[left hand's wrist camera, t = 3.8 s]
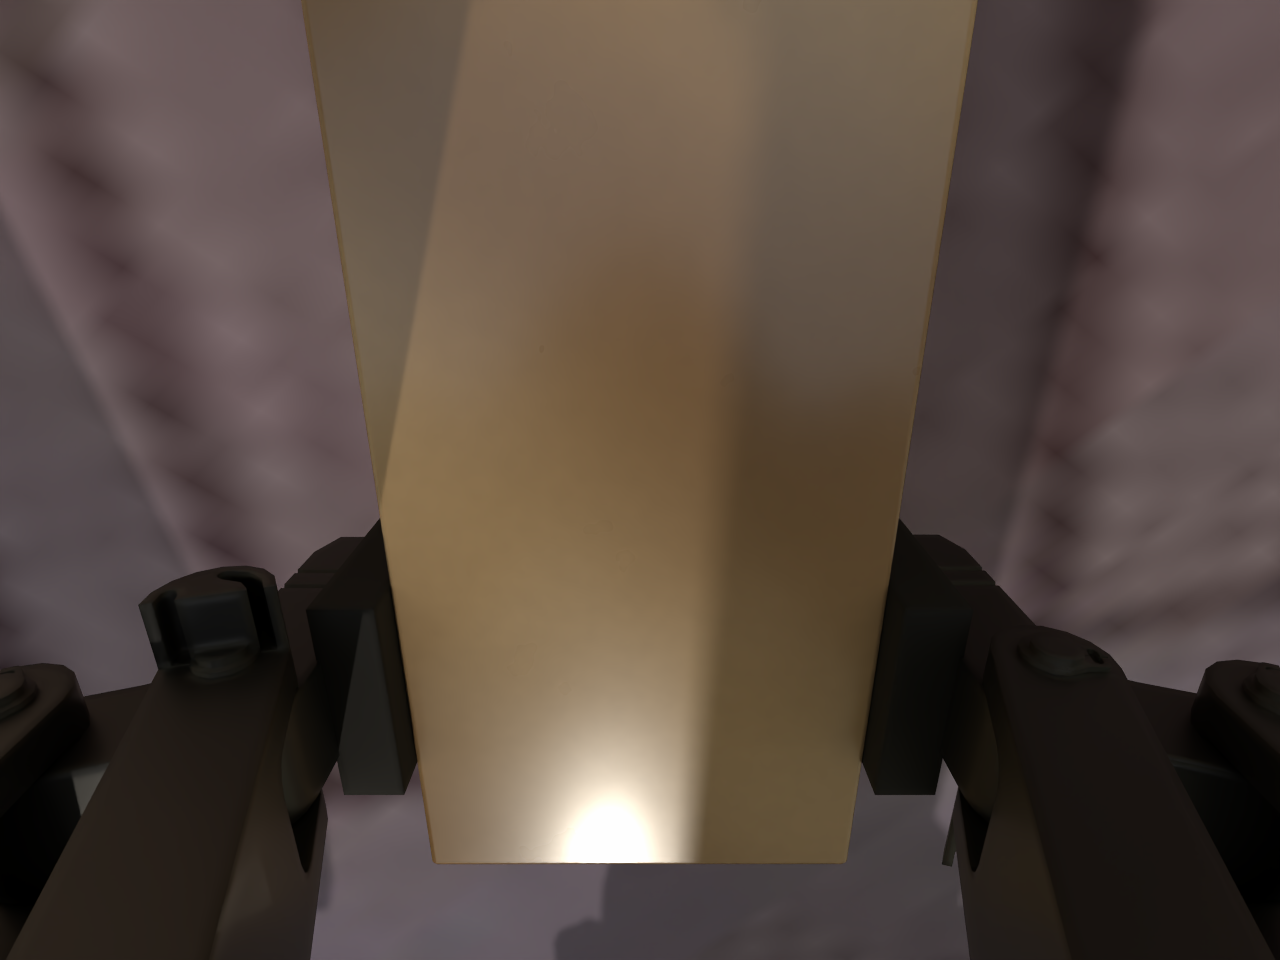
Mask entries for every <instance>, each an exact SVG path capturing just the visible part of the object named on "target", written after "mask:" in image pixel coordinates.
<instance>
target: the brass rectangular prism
mask: <svg viewBox="0 0 1280 960" xmlns="http://www.w3.org/2000/svg"><path fill="white" fill-rule="evenodd" d="M977 2H978V0H301V3H302V9H303V16H304V23H305V29H306V36H307V42H308V49H309V55H310V62H311V68H312V75H313V81H314V88H315V94H316V101H317V108H318V114H319V121H320V127H321V134H322V140H323V147H324V153H325V160H326V166H327V173H328V180H329V186H330V193H331V199H332V206H333V212H334V219H335V225H336V232H337V238H338V245H339V252H340V258H341V265H342V271H343V278H344V284H345V291H346V297H347V304H348V310H349V317H350V323H351V330H352V337H353V343H354V350H355V356H356V363H357V369H358V376H359V382H360V389H361V395H362V402H363V409H364V415H365V422H366V428H367V435H368V441H369V448H370V454H371V461H372V467H373V474H374V480H375V487H376V494H377V500H378V507H379V513H380V520H381V526H382V533H383V539H384V546H385V552H386V559H387V566H388V572H389V579H390V585H391V592H392V598H393V605H394V611H395V618H396V624H397V631H398V637H399V644H400V651H401V657H402V664H403V670H404V677H405V683H406V690H407V696H408V703H409V709H410V716H411V722H412V729H413V736H414V742H415V749H416V755H417V762H418V768H419V775H420V781H421V788H422V795H423V801H424V808H425V814H426V821H427V827H428V834H429V840H430V847H431V853H432V860H433V862H434V863H436V864H843V863H845V862H846V861H847V854H848V848H849V841H850V835H851V828H852V822H853V815H854V809H855V802H856V795H857V789H858V782H859V776H860V769H861V763H862V756H863V750H864V743H865V736H866V730H867V723H868V717H869V710H870V704H871V697H872V691H873V684H874V677H875V671H876V664H877V658H878V651H879V645H880V638H881V632H882V625H883V618H884V612H885V605H886V599H887V592H888V586H889V579H890V573H891V566H892V560H893V553H894V546H895V540H896V533H897V527H898V520H899V514H900V507H901V501H902V494H903V487H904V481H905V474H906V468H907V461H908V455H909V448H910V442H911V435H912V428H913V422H914V415H915V409H916V402H917V396H918V389H919V383H920V376H921V369H922V363H923V356H924V350H925V343H926V337H927V330H928V324H929V317H930V310H931V304H932V297H933V291H934V284H935V278H936V271H937V265H938V258H939V251H940V245H941V238H942V232H943V225H944V219H945V212H946V206H947V199H948V192H949V186H950V179H951V173H952V166H953V160H954V153H955V147H956V140H957V133H958V127H959V120H960V114H961V107H962V101H963V94H964V88H965V81H966V74H967V68H968V61H969V55H970V48H971V42H972V35H973V29H974V22H975V16H976V9H977Z"/></svg>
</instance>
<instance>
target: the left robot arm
mask: <svg viewBox="0 0 1280 960" xmlns="http://www.w3.org/2000/svg"><path fill="white" fill-rule="evenodd" d="M138 606H139V609H140V612H141V615H142V618H143V622H144V625H145V628H146V631H147V634H148V638H149V641H150V644H151V647H152V650H153V654H154V657H155V660H156V663H157V666H158V671H157V673H156V675H155V677H154V679H153V681H152V683H150V684H146V685H142V686H137V687H132V688H126V689H121V690H116V691H111V692H105V693H100V694H95V695H90V696H84V697H83V695H82V692H81V689H80V686H79V684H78V681H77V678H76V676H75V673H74V672H73V671H71V670H70V669H68V668H67V667H65V666H64V665H57V664H46V663H40V664H33V665H25V666H13V667H9V668H5V669H1V671H0V960H310V957H311V949H312V941H313V933H314V925H315V917H316V909H317V901H318V893H319V885H320V877H321V869H322V861H323V853H324V846H325V838H326V830H327V822H328V817H327V810H326V804H325V800H324V795H323V791H322V787H323V785H324V784H325V782H326V780H327V778H328V776H329V774H330V772H331V771H332V769H333V767H334V765H335V763H336V761H337V763H338V767H339V772H340V777H341V782H342V787H343V791H344V795H404V794H405V791H406V789H407V786H408V784H409V781H410V779H411V776H412V774H413V771H414V769H415V766H416V764H417V755H416V749H415V742H414V736H413V729H412V722H411V716H410V709H409V703H408V696H407V690H406V683H405V677H404V670H403V664H402V657H401V651H400V644H399V637H398V631H397V624H396V618H395V611H394V605H393V598H392V592H391V585H390V579H389V572H388V566H387V559H386V552H385V546H384V539H383V533H382V526H381V520H380V519H379V520H378V521H377V522H376V524H375V525H374V526H373V527H372V529H371V530H370V531H369V532H368V534H367V535H366V536H365V537H340V538H338V539H337V540H335V541H333V542H331V543H330V544H328V545H326V546H324V547H323V548H321V549H319V550H317V551H315V552H314V553H313V554H312V555H311V556H310V557H309V558H308V559H307V561H306V562H305V563H304V564H303V565H302V566H301V567H300V568H299V569H298V573H295V574H294V575H293V576H292V577H291V578H290V579H289V580H288V581H287V582H286V583H285V587H284V588H281V589H280V590H279V591H278V590H277V585H276V581H275V576H274V575H273V574H271V573H270V572H268V571H267V570H265V569H262V568H256V567H251V566H230V567H220V568H215V569H210V570H205V571H200V572H196V573H193V574H190V575H188V576H185V577H182V578H179V579H176V580H174V581H171V582H169V583H168V584H166V585H164V586H162V587H160V588H159V589H157V590H155V591H153V592H151V593H150V594H149V595H148V596H147V597H146V598H145V599H144V600H143V601H142V602H141V603H140V604H139V605H138ZM942 759H944V761H945V763H946V765H947V766H948V768H949V770H950V772H951V774H952V776H953V778H954V779H955V781H956V783H957V785H958V791H957V795H956V800H955V804H954V809H953V813H952V817H951V822H950V826H949V831H948V835H947V840H946V844H945V849H944V855H943V861H942V864H943V865H947V866H951V867H952V863H953V859H954V855H955V852H957V860H958V867H959V875H960V883H961V891H962V899H963V907H964V915H965V923H966V931H967V939H968V947H969V955H970V960H1280V667H1279V666H1278V665H1274V664H1269V663H1263V662H1262V663H1258V662H1251V661H1243V660H1230V661H1219V662H1216V663H1214V664H1213V665H1211V666H1210V667H1208V668H1207V669H1206V670H1205V673H1204V675H1203V678H1202V681H1201V684H1200V686H1199V689H1198V692H1197V693H1192V692H1186V691H1181V690H1176V689H1170V688H1165V687H1160V686H1154V685H1149V684H1144V683H1139V682H1134V681H1130V680H1127V678H1126V676H1125V674H1124V672H1123V670H1122V668H1121V667H1120V666H1119V665H1118V664H1117V663H1116V661H1115V660H1114V659H1113V658H1112V657H1111V656H1110V655H1109V654H1108V653H1106V652H1105V651H1103V650H1102V649H1100V648H1099V647H1097V646H1096V645H1094V644H1093V643H1091V642H1089V641H1087V640H1085V639H1082V638H1080V637H1078V636H1075V635H1073V634H1070V633H1068V632H1065V631H1061V630H1056V629H1052V628H1048V627H1044V626H1036V625H1035V624H1034V623H1033V622H1032V621H1031V620H1030V619H1029V618H1028V617H1027V615H1026V614H1025V613H1024V612H1023V611H1022V610H1021V609H1020V608H1019V607H1018V606H1017V605H1016V604H1015V603H1014V601H1013V600H1012V599H1011V598H1010V597H1009V596H1008V595H1007V594H1006V593H1005V592H1004V591H1003V590H1002V589H1001V587H1000V586H995V581H994V580H993V579H992V578H991V577H990V576H989V575H988V574H987V572H986V571H982V567H981V566H980V565H979V564H978V563H977V562H976V561H975V560H974V558H973V557H972V556H971V555H970V554H969V553H968V552H967V551H966V550H965V549H963V548H961V547H960V546H958V545H956V544H954V543H952V542H951V541H949V540H947V539H945V538H944V537H942V536H940V535H912V533H911V532H910V531H909V530H908V528H907V527H906V526H905V525H904V523H903V522H902V521H901V520H900V519H899V520H898V527H897V533H896V540H895V546H894V553H893V560H892V566H891V573H890V579H889V586H888V592H887V599H886V605H885V612H884V618H883V625H882V632H881V638H880V645H879V651H878V658H877V664H876V671H875V677H874V684H873V691H872V697H871V704H870V710H869V717H868V723H867V730H866V736H865V743H864V750H863V756H862V763H863V765H864V768H865V770H866V773H867V776H868V778H869V781H870V783H871V786H872V788H873V791H874V793H875V795H935V793H936V788H937V783H938V778H939V773H940V769H941V764H942Z"/></svg>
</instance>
